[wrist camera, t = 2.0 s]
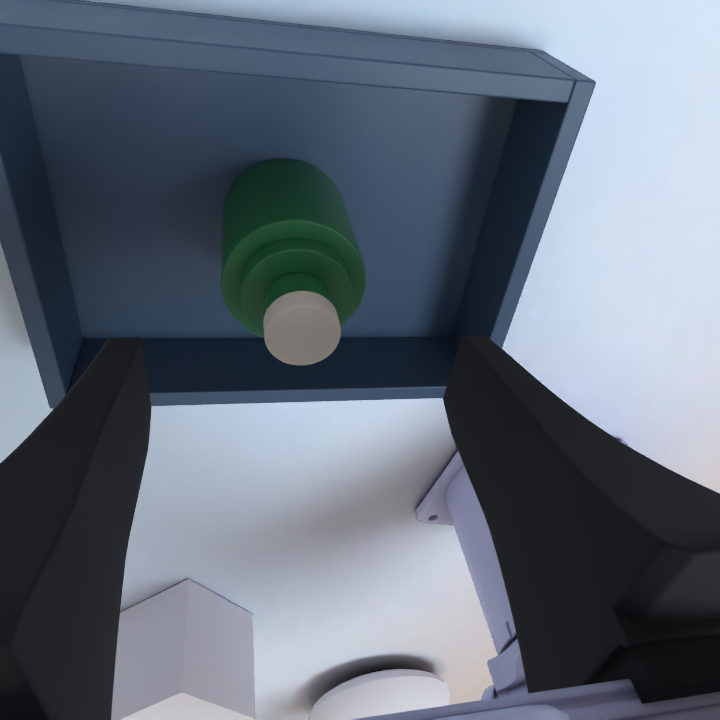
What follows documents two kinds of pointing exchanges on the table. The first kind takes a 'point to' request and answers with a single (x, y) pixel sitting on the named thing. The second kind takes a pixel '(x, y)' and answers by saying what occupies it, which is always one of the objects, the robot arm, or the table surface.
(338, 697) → the flower in vase
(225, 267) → the bottle
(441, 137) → the tray
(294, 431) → the table surface
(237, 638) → the white cube
